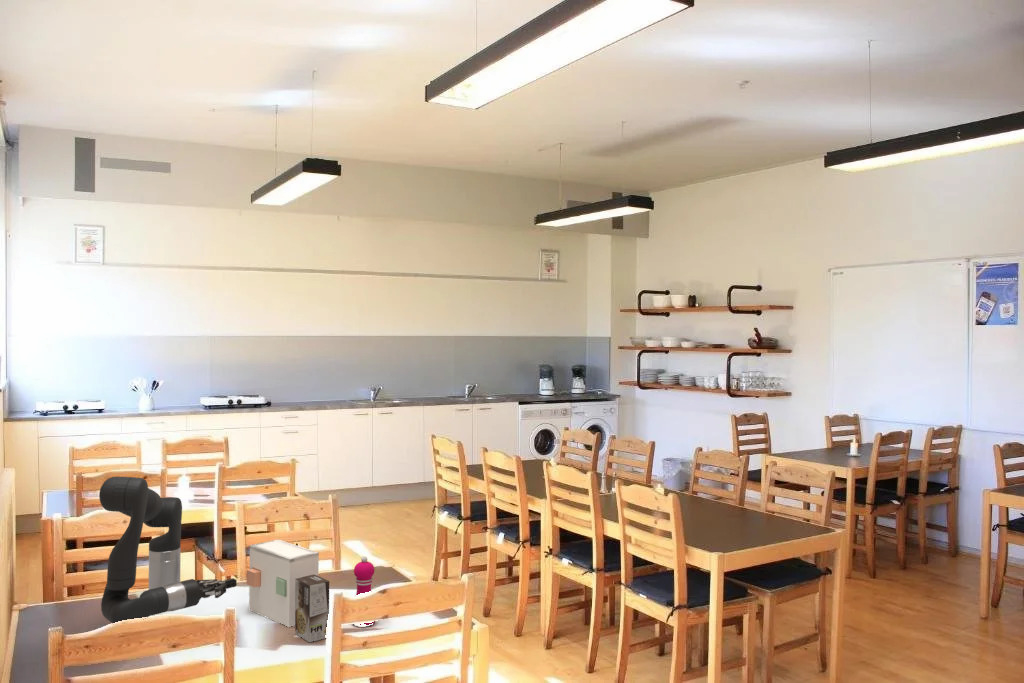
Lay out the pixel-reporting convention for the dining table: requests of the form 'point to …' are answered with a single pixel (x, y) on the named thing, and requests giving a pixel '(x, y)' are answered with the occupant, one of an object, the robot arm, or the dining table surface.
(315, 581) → the coffee box
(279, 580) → the sage button
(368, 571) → the pepper mill
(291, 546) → the button panel
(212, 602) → the dining table surface
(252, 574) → the terracotta button
